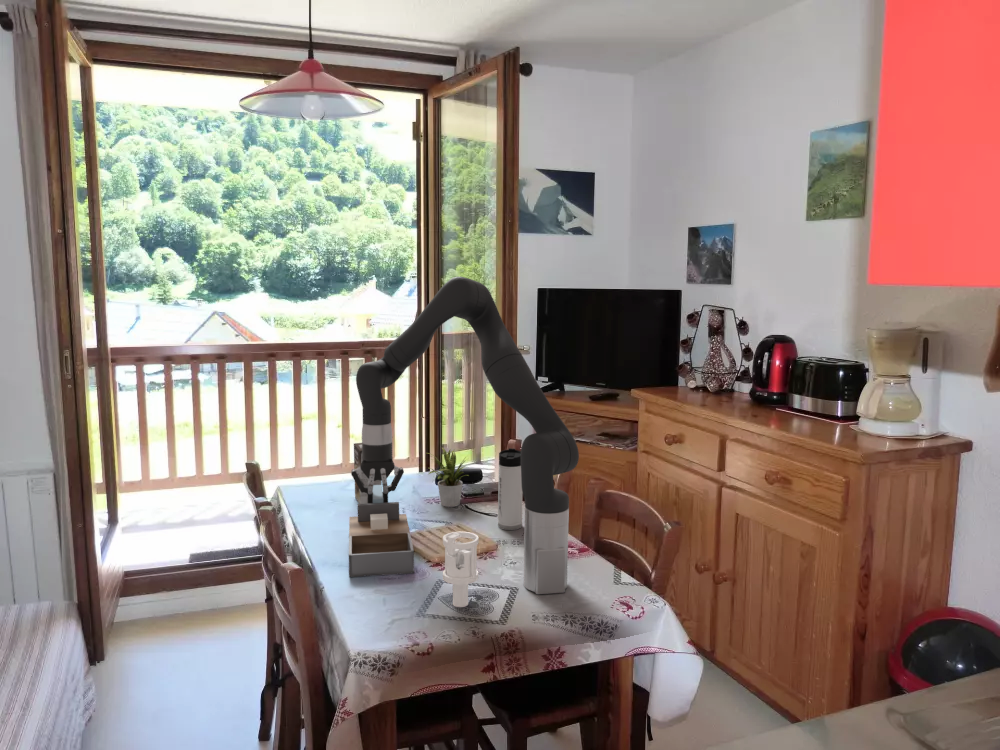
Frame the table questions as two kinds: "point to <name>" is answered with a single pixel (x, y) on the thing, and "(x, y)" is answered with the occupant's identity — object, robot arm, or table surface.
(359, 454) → the coffee box
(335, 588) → the table surface
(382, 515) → the tile
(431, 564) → the table surface
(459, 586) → the white slotted cylindrical fitting
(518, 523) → the travel mug
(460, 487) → the house plant
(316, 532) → the table surface
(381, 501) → the scraper
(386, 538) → the wooden box lid
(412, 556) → the box
